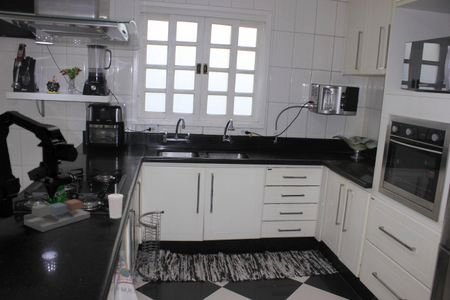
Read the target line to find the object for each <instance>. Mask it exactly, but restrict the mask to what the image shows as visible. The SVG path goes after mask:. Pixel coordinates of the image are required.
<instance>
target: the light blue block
mask: <svg viewBox="0 0 450 300" xmlns="http://www.w3.org/2000/svg"><path fill="white" fill-rule="evenodd" d="M48 206H50V207H51V214H54V215H59V214H62V213H66V212H67V205H66V204H63V203H60V202H59V203H55V204H51V205H48Z"/></svg>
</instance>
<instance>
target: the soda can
mask: <svg viewBox="0 0 450 300" xmlns="http://www.w3.org/2000/svg"><path fill="white" fill-rule="evenodd" d="M66 189H67V188H66V185H62V186H59V188H58V189H57V191H56V193H55V195H54V197H53V198H52V199H50V198H49V196H48V193H47V192H46V197H47V201H46V202H48V203H49V204H55V203H59V202H60V203H63V204H64V202H65V201H67V200H66V198H67V196H66Z"/></svg>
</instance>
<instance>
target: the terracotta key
mask: <svg viewBox="0 0 450 300" xmlns="http://www.w3.org/2000/svg"><path fill="white" fill-rule="evenodd" d="M64 204H66V205H67V210H70V211H75V210H78V209H80V210H83V201H81V200H80V199H79V200H78V199H75V198H74V199H70V200H66V201H65V202H64Z"/></svg>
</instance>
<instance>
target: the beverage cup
mask: <svg viewBox="0 0 450 300" xmlns="http://www.w3.org/2000/svg"><path fill="white" fill-rule="evenodd" d="M123 198H124V195H123V194H121V193H117V183H115V184H114V193H112V194H109V195H107V199H108V206H109V207H108V208H109V209H108V210H109V217H110V219H120V218H122V212H123V200H124V199H123Z"/></svg>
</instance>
